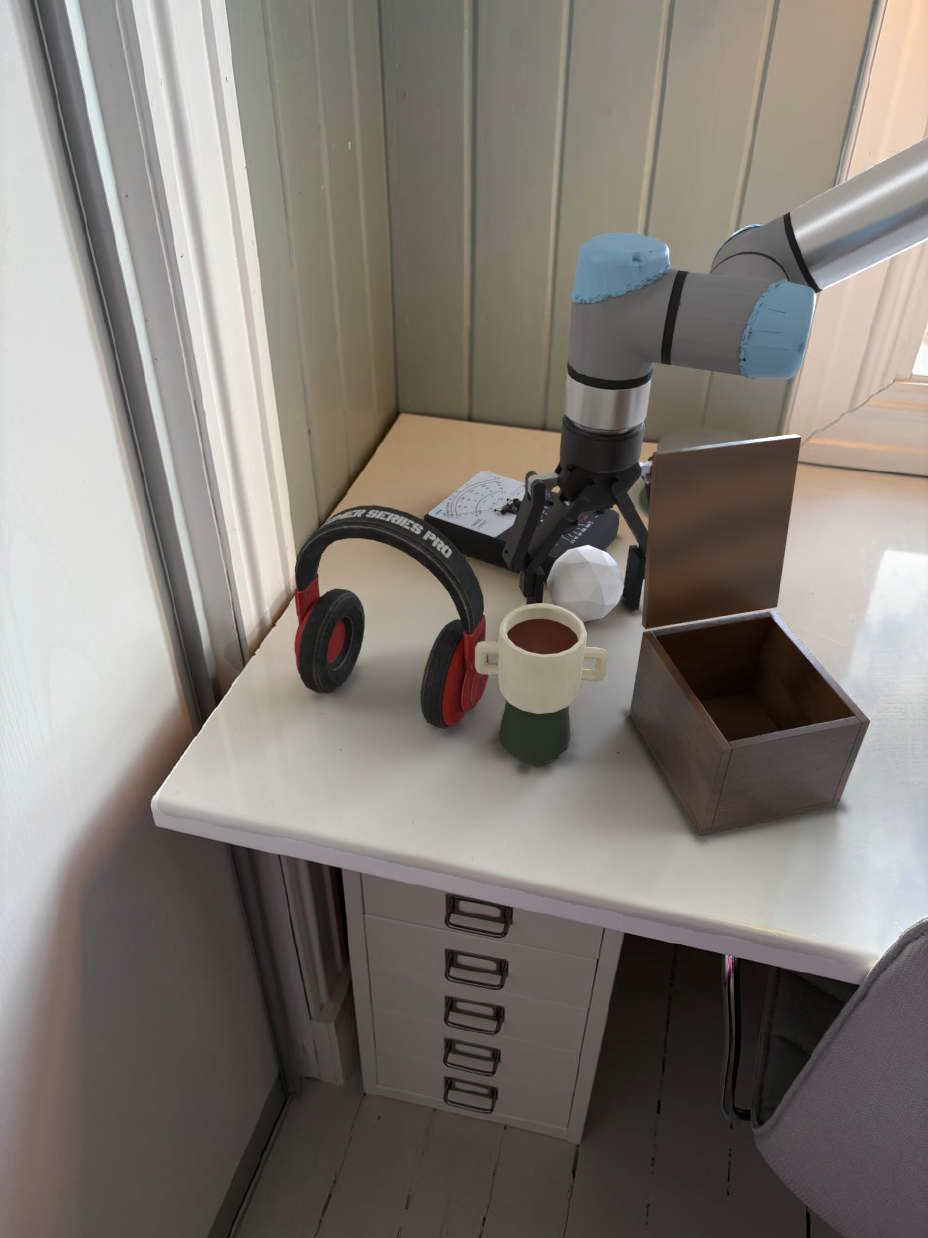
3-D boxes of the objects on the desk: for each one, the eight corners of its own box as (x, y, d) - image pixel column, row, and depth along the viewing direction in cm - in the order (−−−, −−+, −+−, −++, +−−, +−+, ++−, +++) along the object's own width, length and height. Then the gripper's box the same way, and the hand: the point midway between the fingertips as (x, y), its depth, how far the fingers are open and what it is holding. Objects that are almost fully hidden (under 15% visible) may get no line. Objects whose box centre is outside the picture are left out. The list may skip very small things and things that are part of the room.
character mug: (594, 719, 85) (609, 606, 77) (596, 776, 80) (613, 661, 72) (476, 711, 86) (478, 599, 78) (470, 768, 80) (472, 653, 72)
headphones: (498, 688, 88) (506, 507, 76) (459, 759, 81) (461, 571, 69) (335, 643, 94) (318, 467, 81) (284, 706, 86) (257, 523, 74)
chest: (838, 806, 77) (871, 721, 71) (700, 836, 75) (722, 750, 69) (751, 691, 88) (773, 609, 82) (629, 714, 86) (642, 631, 80)
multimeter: (568, 593, 101) (572, 555, 98) (421, 541, 109) (420, 504, 105) (618, 537, 110) (623, 501, 106) (479, 493, 117) (480, 458, 114)
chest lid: (801, 436, 74) (795, 433, 75) (657, 454, 72) (652, 451, 72) (777, 607, 82) (772, 603, 82) (645, 629, 79) (641, 625, 80)
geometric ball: (570, 621, 101) (575, 548, 101) (635, 625, 96) (640, 548, 96) (529, 618, 95) (535, 541, 95) (596, 623, 90) (601, 541, 90)
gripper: (699, 387, 90) (666, 575, 103) (472, 412, 85) (468, 605, 98) (737, 421, 84) (696, 615, 98) (495, 449, 79) (488, 649, 93)
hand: (582, 610), depth 98 cm, fingers open, 10 cm apart
